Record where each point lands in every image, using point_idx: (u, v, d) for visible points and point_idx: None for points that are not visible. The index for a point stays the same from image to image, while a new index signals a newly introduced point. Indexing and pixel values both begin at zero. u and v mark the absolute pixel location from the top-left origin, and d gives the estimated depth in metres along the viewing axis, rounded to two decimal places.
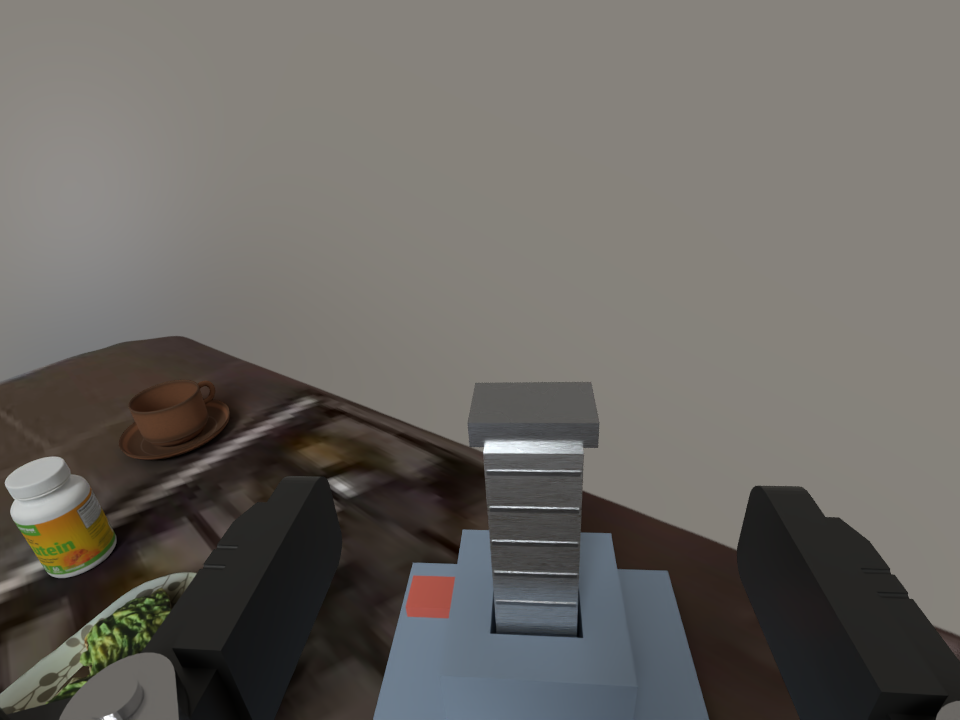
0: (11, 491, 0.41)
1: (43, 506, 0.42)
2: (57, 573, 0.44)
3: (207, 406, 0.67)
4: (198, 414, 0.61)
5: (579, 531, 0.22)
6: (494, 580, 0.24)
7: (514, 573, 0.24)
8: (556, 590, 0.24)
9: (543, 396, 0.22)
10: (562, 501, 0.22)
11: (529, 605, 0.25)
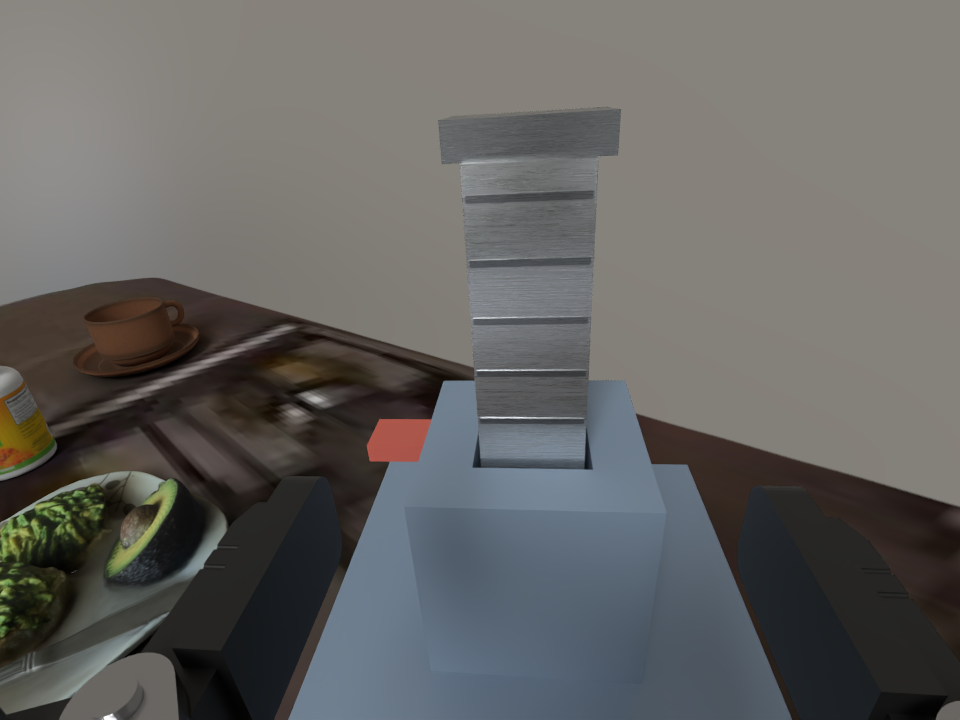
0: None
1: None
2: None
3: (176, 331, 0.61)
4: (162, 331, 0.55)
5: (590, 296, 0.17)
6: (477, 385, 0.18)
7: (503, 371, 0.18)
8: (558, 398, 0.18)
9: (543, 111, 0.16)
10: (568, 245, 0.16)
11: (523, 423, 0.19)
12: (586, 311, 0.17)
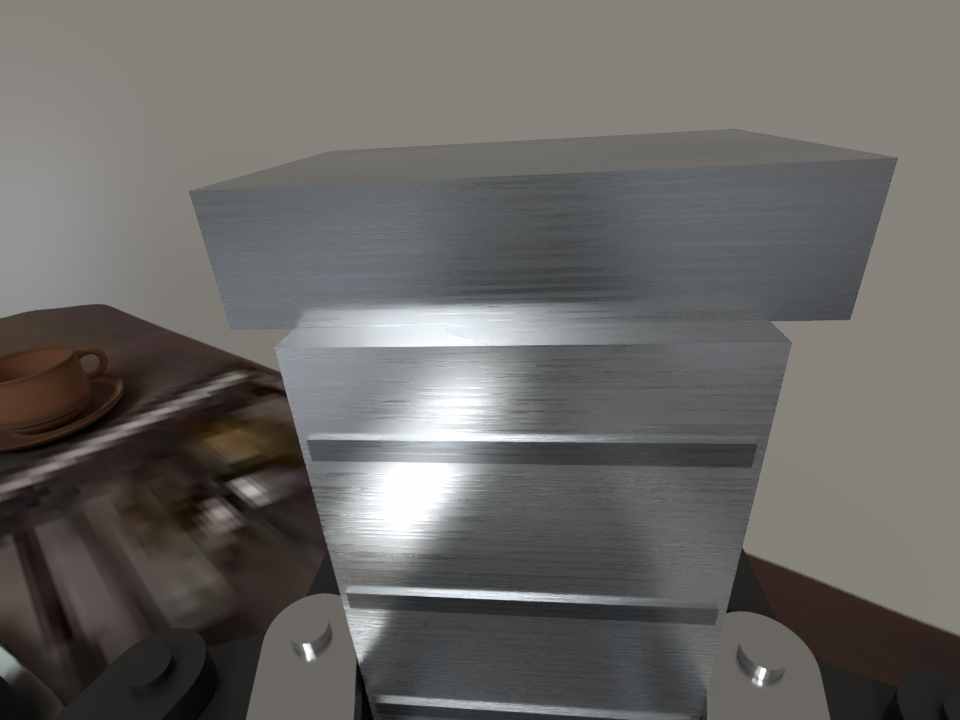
0: None
1: None
2: None
3: (99, 382, 0.50)
4: (71, 390, 0.44)
5: (703, 684, 0.06)
6: None
7: None
8: None
9: (566, 147, 0.05)
10: (648, 575, 0.05)
11: None
12: (687, 709, 0.06)
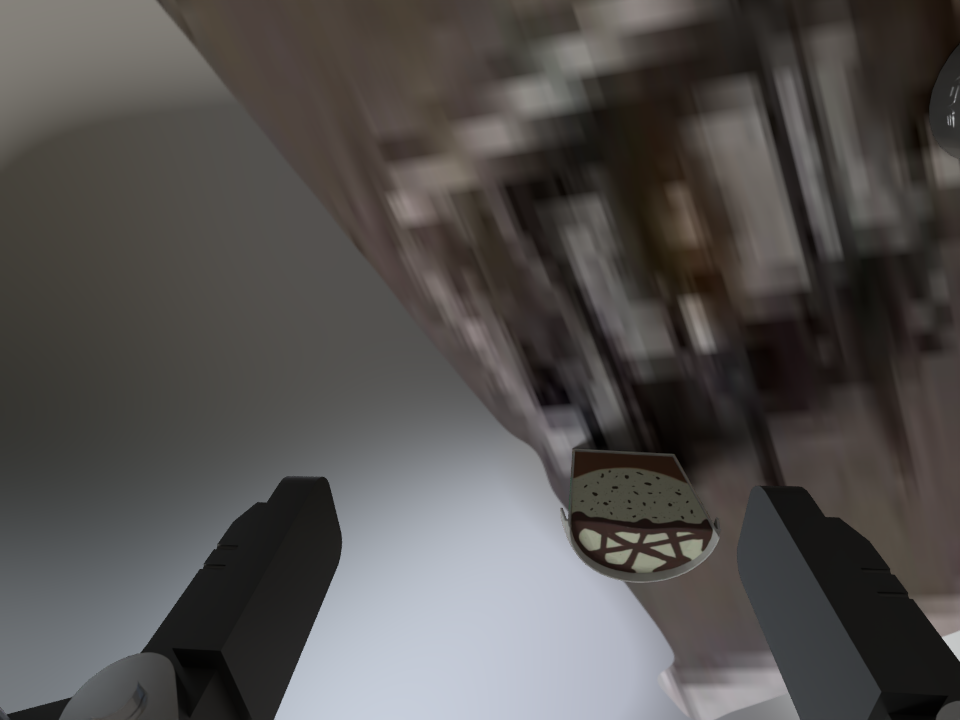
0: None
1: None
2: None
3: None
4: None
5: None
6: None
7: None
8: None
9: None
10: None
11: None
12: None
